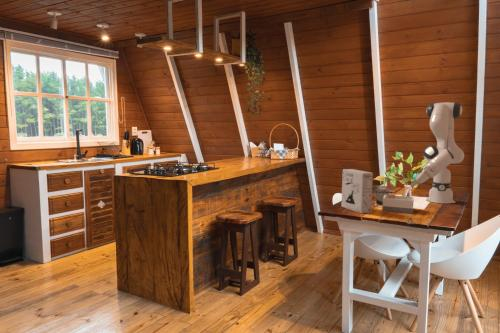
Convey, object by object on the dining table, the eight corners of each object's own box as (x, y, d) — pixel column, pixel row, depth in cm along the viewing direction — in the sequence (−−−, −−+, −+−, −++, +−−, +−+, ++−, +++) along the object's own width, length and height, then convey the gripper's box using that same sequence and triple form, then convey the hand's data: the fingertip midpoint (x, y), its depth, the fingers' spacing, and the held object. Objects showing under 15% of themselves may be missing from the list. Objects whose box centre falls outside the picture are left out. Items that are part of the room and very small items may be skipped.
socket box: (383, 206, 264) (384, 194, 263) (412, 209, 257) (413, 197, 256) (382, 210, 251) (382, 198, 250) (412, 213, 244) (413, 200, 243)
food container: (392, 204, 273) (393, 189, 272) (393, 205, 267) (393, 191, 266) (373, 202, 276) (374, 188, 275) (374, 204, 270) (374, 190, 269)
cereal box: (341, 206, 262) (342, 169, 260) (350, 205, 265) (352, 168, 262) (361, 213, 242) (362, 173, 240) (371, 212, 245) (373, 172, 242)
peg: (388, 208, 258) (388, 193, 257) (394, 208, 257) (395, 193, 256) (387, 209, 255) (388, 194, 254) (394, 210, 253) (395, 194, 252)
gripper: (425, 165, 255) (408, 179, 260) (426, 168, 236) (407, 183, 241) (432, 172, 254) (415, 186, 258) (434, 176, 235) (415, 191, 240)
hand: (411, 185), depth 249 cm, fingers open, 8 cm apart
